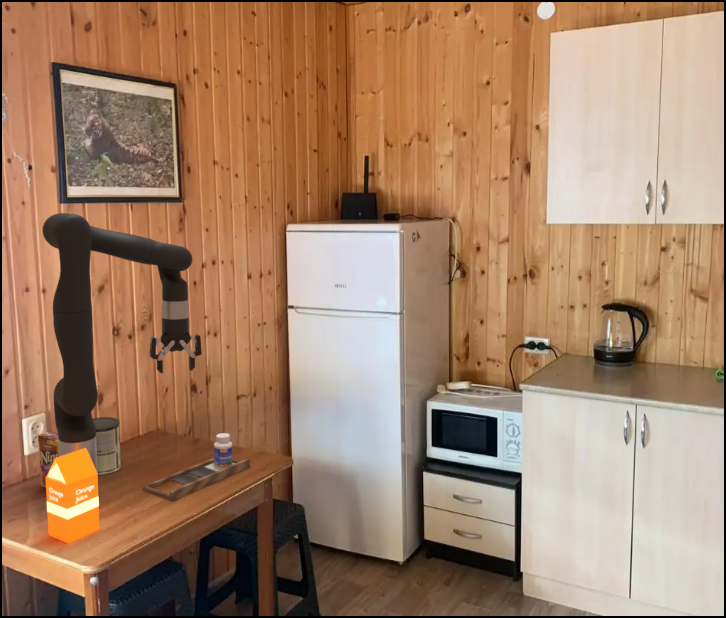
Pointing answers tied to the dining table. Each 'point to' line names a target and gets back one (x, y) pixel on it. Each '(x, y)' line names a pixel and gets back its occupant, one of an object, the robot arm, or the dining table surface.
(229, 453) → the pill bottle
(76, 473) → the orange juice
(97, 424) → the coffee can
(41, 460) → the candy box
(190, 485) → the tray
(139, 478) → the dining table surface
